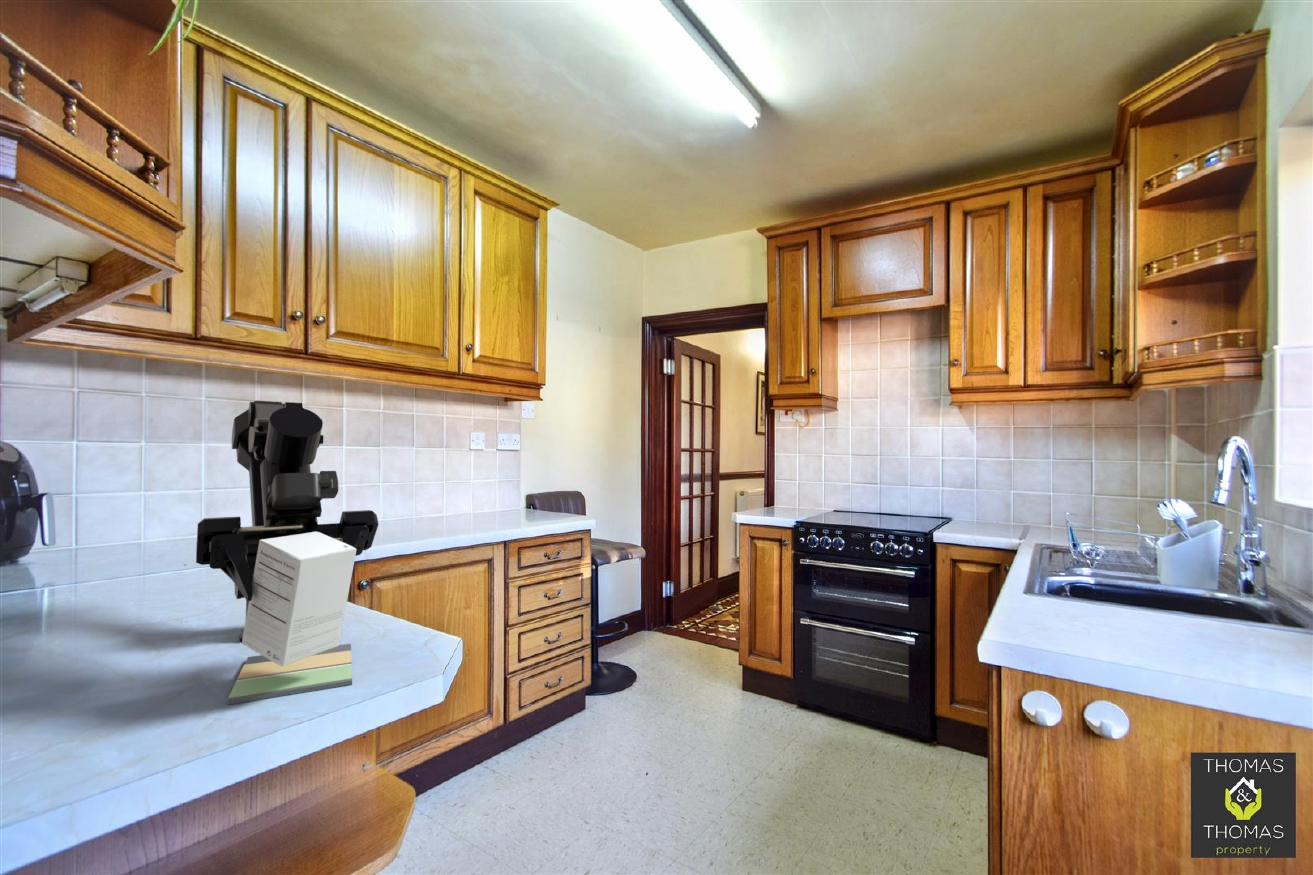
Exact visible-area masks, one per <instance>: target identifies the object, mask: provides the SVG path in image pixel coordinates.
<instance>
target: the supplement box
mask: <svg viewBox="0 0 1313 875" xmlns="http://www.w3.org/2000/svg"><path fill="white" fill-rule="evenodd" d="M355 555H356V548H354V547H352V546H350V545H348V544H346V543H343V542H341V541H338V540H336V539H334V538H331V537H329V536H327V535H324V534H322V533H319V532H310V533H303V534H297V535H290V536H283V537H276V538H269V539H262V540H259V546H258V552H257V558H256V563H255V569H254V575H253V581H252V600H251V601H249V604H248V609H247V615H246V614H245V623H244V628H243V630H244V633H243V639H242V641H241V643H242V644H243V645H244V646H246V647H247V648H249V649H251V650H252V651H254V652H256V653H257V654H259V655H262V656H264V657H266V658H267V659H269V660H271V661H273V662H274V663H276V664H278V665H280V666H285V665H288V664H290V663H293V662H296V661H298V660H301V659H304V658H307V657H309V656H312V655H315V654H318V653H321V652H323V651H326V650H329V649H332V648H335V647H337V646H339V645H340V641H341V635H342V630H343V624H344V619H345V612H346V608H347V604H348V597H349V594H350V586H351V581H352V578H353V570H354V564H355V562H356V561H355V559H356V556H355Z"/></svg>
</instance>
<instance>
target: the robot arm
mask: <svg viewBox="0 0 1313 875" xmlns="http://www.w3.org/2000/svg"><path fill="white" fill-rule="evenodd" d="M248 405H249V406H248V409H246V410H245V411H243V412H242V413H240V414H239V415H237V416H236V417H234V419H233V425H232V430H231V450H236V451H235V452H236V453H235V454H236V462H237V463H238V464H239V465H240V466H241V467H243V468H244V469H245V470H247V471H248V476H249V477H248V478H249V479H248V480H249V491H250V492H249V494H250V509H251V510H250V511H251V525H252V526H242V523H241V521H242V519H241V518H242V517H241V516H223V517H221V516H220V517H219V516H218V517H204V518H203V519H201V520H200V521H199V522H198V523H197V531H196V547H195V549H196V550H195V552H196V555H195V563H197V564H199V565H202V566H205V565H209V568H210V569H213V570H219V569H220V570H221V571H222V572H223V573H224V574H225V575H226V576H227V577H228V578H229V579H230V580H231V581H232V582H233V584H234V596H235V598H236V599H237V600H239V599H245V602H246V603H245V616H246V615H247V609H248V604H249V601H251V600H252V581H253V575H254V569H255V563H256V558H257V552H258V546H259V540H262V539H269V538H276V537H283V536H290V535H297V534H303V533H310V532H319V533H322V534H324V535H327V536H329V537H331V538H334V539H336V540H338V541H341V542H343V543H346V544H348V545H350V546H352V547H354V548H356V555H355V557H356V556H360V555H361V554H362V553H363V552H364V551H367V550H369V549H370V548H372V545H373V542H374V539H375V536H376V534H377V531H378V527H379V519H378V516H377V513H376V512H375V511H373V510H371V509H367V510H365V509H363V510H347V511H344V510H343V511H342V513H341V516H340V520H339V522H335V523H323V524H321V523H318V518H321V516H322V511H323V510H322V503H321V501H323V499H335V498H336V497H337V495H338V493H339V478H338V474H337V470H320V472H319V473H317V472H312V470H311V465H312V464H313V463H314V462H315V460H316V456H317V452H318V449H319V448H320V445H324V434H322V429H323V424H324V422H323V419H322V418H320V416H319V415H318V414H316V412H314V411H311V410H310V409H306V408H304V405H303V402H289V401H285V402H284V403H283V402H282V401H270V400H254V401H249V404H248ZM243 633H244V629H243V630H242V631H241V633H240V635H239V638H238V641H239V642H242V639H243Z"/></svg>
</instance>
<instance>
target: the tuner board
mask: <svg viewBox="0 0 1313 875" xmlns="http://www.w3.org/2000/svg"><path fill="white" fill-rule="evenodd" d="M352 663H353V662H352V643H345V644H339V646H337V647H335V648H332V649H329V650H326V651H323V652H321V653H318V654H315V655H312V656H309V657H307V658H304V659H301V660H298V661H296V662H293V663H290V664H288V665H285V666H280V665H278V664H276V663H274V662H273V661H271V660H269V659H267V658H266V657H264V656H262V655H261V654H259V655H254V656H252V655H251V656H248V657H247V658H246V661H245V662H244V664H243V666H242V668H241V670H240V673H239V675H238V676H237V677H236V678H237V679H236V680H235V683H234V685H233V687H232V690H231V691H230V693H229V696H227V697H228V698H227V705H228V706H229V705H233V704H240V703H248V702H253V701H260V700H266V698H267V699H271V698H278V696H279V697H284V696H283V695H285V696H288V695H287V694H291V695H293V694H292V693H298V694H301V693H309V692H315V690H316V691H321V690H320V689H322V690H327V689H328V688H329V689H334V687H335V688H339V687H338V686H341V687H345V686H344V685H347V686H352V684H353V667H352Z"/></svg>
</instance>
